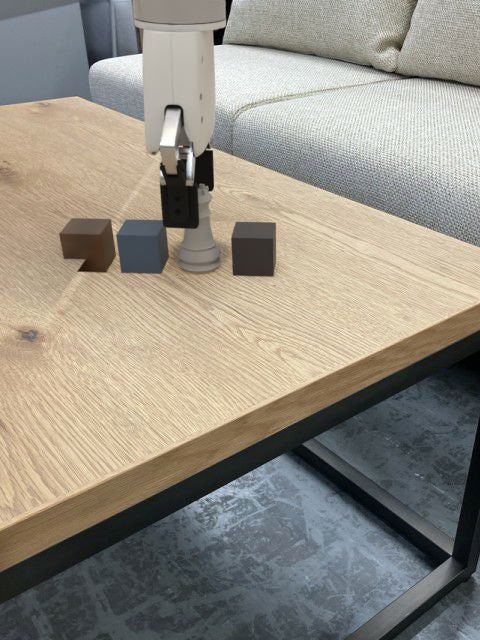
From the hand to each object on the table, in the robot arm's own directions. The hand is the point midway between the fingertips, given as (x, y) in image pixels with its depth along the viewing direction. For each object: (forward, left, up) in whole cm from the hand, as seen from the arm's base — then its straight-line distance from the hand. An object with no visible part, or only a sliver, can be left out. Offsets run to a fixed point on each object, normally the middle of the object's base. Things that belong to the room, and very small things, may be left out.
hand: (190, 207), depth 67 cm
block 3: (+6, 0, -6) cm, 9 cm away
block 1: (-10, 0, -6) cm, 12 cm away
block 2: (-5, 0, -6) cm, 8 cm away
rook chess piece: (+1, 0, -6) cm, 6 cm away
